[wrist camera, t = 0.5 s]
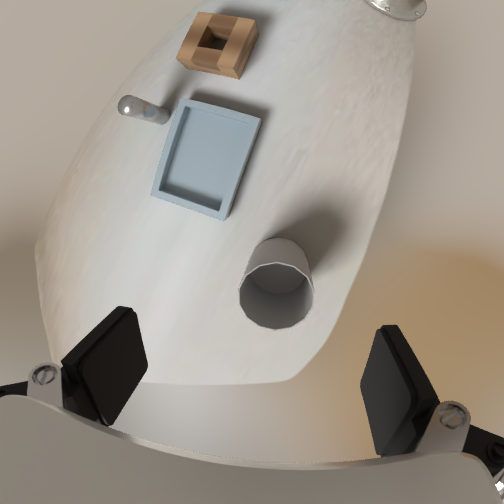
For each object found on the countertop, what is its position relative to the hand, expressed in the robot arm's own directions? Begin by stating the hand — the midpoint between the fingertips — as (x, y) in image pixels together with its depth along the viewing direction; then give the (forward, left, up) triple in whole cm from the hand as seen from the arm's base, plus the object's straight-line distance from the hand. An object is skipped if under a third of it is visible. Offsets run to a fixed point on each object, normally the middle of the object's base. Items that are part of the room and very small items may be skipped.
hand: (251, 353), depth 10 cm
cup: (+7, +3, -29) cm, 30 cm away
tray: (-4, -12, -29) cm, 31 cm away
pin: (-8, -20, -29) cm, 36 cm away
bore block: (-20, -15, -29) cm, 38 cm away
